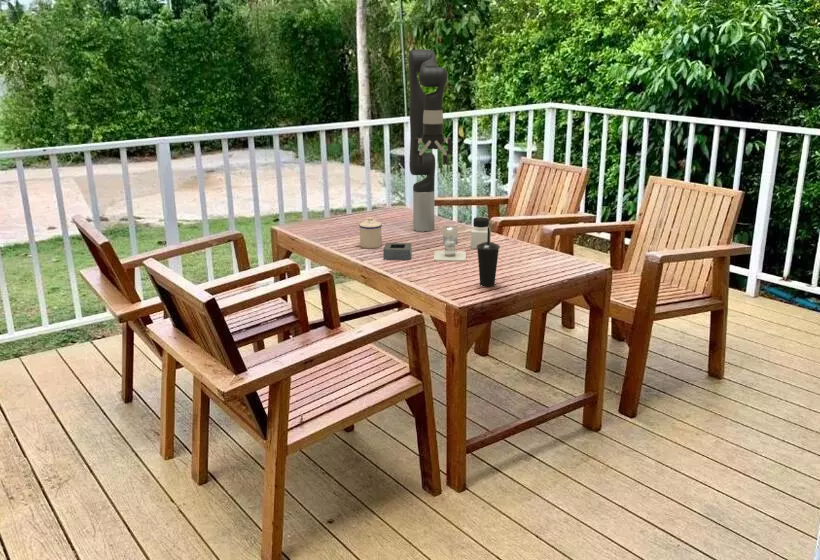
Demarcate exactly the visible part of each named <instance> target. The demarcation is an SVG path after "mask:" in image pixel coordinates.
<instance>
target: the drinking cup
mask: <svg viewBox="0 0 820 560" xmlns="http://www.w3.org/2000/svg"><path fill="white" fill-rule="evenodd" d="M490 229H491V228H490V226H489V227H488V234H487V242H483V243H481V244H478V245H477V249H476V250H477V259H478V274H479V275H478V276H479V286H480V285H482V286H493V285H494V286H495V284H496V283H495V282H496V276H497V275H496V273H497V267H498V260H499V259H498V258H499V249H500V248H501V247H500V244H498V243H495V242H494V241H493V242H492V241H490V242H489V236H490V237H491V233H490ZM482 286H481V287H482ZM494 286H493V287H494Z"/></svg>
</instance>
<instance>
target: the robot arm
mask: <svg viewBox="0 0 820 560" xmlns="http://www.w3.org/2000/svg"><path fill="white" fill-rule="evenodd" d="M436 56H437V55H436V53H435V51H434V50H432V49H410V50H409V54H408V77H409V128H410V129H409V131H410V132H409V133H410V135H409V136H410V142H409V172H410V174H411V176H425V178H424V179H422V180H420V181H418V182H415V183H414V184H413V186H412V200H413V201H412V203H413V204H412V206H413V217H412V218H413V219H412V220H413V221H412V222H413V225H412V226H413V227H412V228H413V231H415V230H416V231H415V232H424V231H427V232H432V230H433V231H434V230H435V181H436V180H435V178H436V177H435V176H436V158H435V154H434V153H433V152H426V150H427V149H428V150H438V149H439V150H440V152H442V154H443V155H442V156H443V157H442V158H443V159H442V162H443V163H442V164H443V166H446V165H447V163H448V155H450V154H452V151H453V149H452V137H450V136H449V137H444V114H443V113H444V112H443V96H444V92H445V88H446V86H447V85H446V84H447V81H448V75H449V74H448V72H447V70H446V68H445V67H441V66H440V67H439V66H438V63H437V62H438V61H437V57H436ZM422 87H425V88H437V89H436V90H435V91H434V92H431V93H427V94H426V93H425V92H424V90H423V88H422ZM421 142H422V144H423V145H424V146H423V147H422V148H421V149H420V150H419V148H420V144H421ZM444 142H445V143H446V144H447V149H448V150H446V149H445V148H444V147H443V144H444Z"/></svg>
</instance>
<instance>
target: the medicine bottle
mask: <svg viewBox="0 0 820 560" xmlns="http://www.w3.org/2000/svg"><path fill="white" fill-rule="evenodd" d="M472 222H473V223H472V224H473V227H472V229H471V231H470V249H473V250H478V249H477V245H478V244H481V243H483V242H487V234H488V227H490V223H489V222H490V219H489V218H488V217H486V216H477V217H474V218H473V221H472ZM491 232H492V231H491V228H490V234H492V233H491ZM489 242H491V235H490V236H489Z"/></svg>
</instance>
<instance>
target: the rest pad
mask: <svg viewBox="0 0 820 560" xmlns="http://www.w3.org/2000/svg"><path fill="white" fill-rule="evenodd" d="M466 254H467V252H466V250H455V256H453V257H447V256H445V250H434V254H433V255H434V256H433V261H434V262H466V261H467V259H466V258H467V255H466Z"/></svg>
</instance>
